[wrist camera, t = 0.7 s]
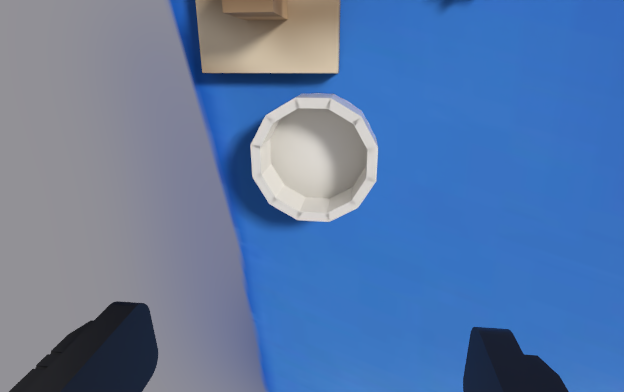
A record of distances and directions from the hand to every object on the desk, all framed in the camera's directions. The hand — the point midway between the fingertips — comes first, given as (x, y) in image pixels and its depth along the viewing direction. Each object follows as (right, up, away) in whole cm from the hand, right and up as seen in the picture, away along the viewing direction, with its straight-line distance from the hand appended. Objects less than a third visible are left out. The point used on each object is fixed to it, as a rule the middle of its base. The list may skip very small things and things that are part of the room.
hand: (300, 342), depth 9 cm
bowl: (+1, +7, +21) cm, 23 cm away
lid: (-3, +18, +17) cm, 25 cm away
